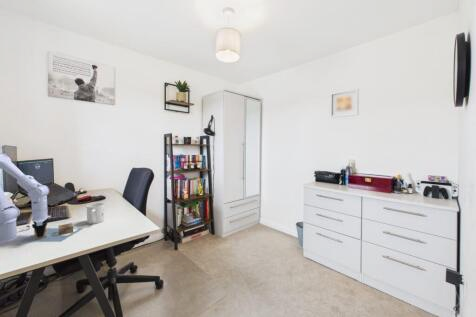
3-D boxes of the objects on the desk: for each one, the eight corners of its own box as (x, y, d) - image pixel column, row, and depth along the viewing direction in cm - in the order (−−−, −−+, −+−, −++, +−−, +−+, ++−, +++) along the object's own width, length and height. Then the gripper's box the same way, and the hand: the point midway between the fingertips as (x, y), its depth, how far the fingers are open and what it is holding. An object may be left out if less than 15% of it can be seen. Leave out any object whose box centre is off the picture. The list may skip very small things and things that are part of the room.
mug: (89, 220, 131) (88, 203, 130) (105, 218, 135) (104, 202, 134) (84, 227, 120) (83, 209, 119) (102, 225, 124) (101, 207, 123)
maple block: (34, 239, 103) (34, 230, 103) (35, 236, 107) (34, 227, 106) (46, 237, 106) (46, 228, 106) (46, 234, 110) (46, 225, 109)
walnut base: (58, 235, 109) (58, 229, 108) (58, 231, 113) (58, 225, 113) (73, 232, 113) (73, 226, 112) (72, 228, 117) (72, 222, 117)
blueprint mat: (19, 242, 101) (19, 241, 101) (47, 228, 117) (47, 228, 117) (61, 242, 102) (61, 241, 102) (83, 229, 118) (83, 228, 118)
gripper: (50, 211, 103) (51, 237, 104) (50, 204, 113) (51, 228, 114) (30, 214, 98) (31, 241, 99) (32, 206, 109) (33, 231, 110)
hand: (40, 234), depth 106 cm, fingers open, 5 cm apart
